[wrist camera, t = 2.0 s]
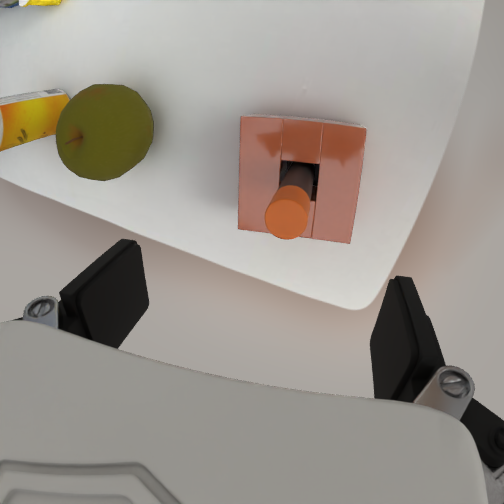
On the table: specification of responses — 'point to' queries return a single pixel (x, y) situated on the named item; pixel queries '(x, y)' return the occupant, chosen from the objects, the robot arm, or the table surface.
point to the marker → (291, 202)
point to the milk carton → (9, 3)
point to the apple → (104, 131)
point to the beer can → (30, 116)
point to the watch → (38, 2)
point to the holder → (308, 151)
